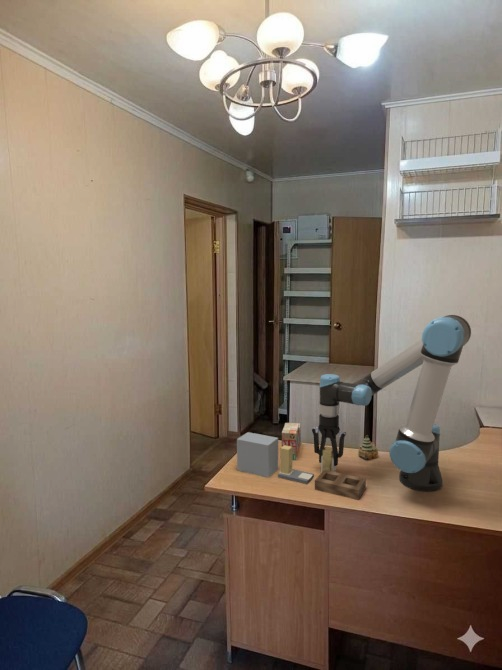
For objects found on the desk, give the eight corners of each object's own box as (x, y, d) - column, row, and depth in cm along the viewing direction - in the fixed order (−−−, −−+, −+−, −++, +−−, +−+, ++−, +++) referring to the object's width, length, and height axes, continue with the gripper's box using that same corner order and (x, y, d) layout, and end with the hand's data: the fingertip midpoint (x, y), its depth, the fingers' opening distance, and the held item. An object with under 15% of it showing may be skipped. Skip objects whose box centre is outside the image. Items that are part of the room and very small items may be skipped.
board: (314, 476, 168) (314, 449, 166) (307, 484, 162) (307, 455, 160) (284, 470, 174) (285, 443, 172) (277, 477, 168) (277, 449, 166)
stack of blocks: (287, 441, 205) (287, 416, 203) (300, 442, 204) (301, 416, 202) (281, 459, 184) (281, 432, 183) (296, 461, 183) (296, 432, 181)
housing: (278, 468, 175) (278, 437, 174) (268, 477, 168) (268, 445, 166) (248, 461, 182) (247, 432, 180) (237, 470, 174) (236, 439, 173)
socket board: (365, 487, 159) (365, 478, 158) (358, 499, 150) (358, 490, 150) (323, 478, 167) (324, 469, 166) (314, 489, 158) (314, 480, 157)
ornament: (369, 452, 191) (369, 430, 189) (380, 457, 186) (380, 435, 184) (356, 456, 187) (356, 434, 185) (367, 461, 181) (367, 438, 180)
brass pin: (333, 472, 172) (334, 448, 170) (331, 475, 169) (331, 451, 167) (325, 470, 173) (325, 446, 172) (322, 474, 170) (322, 449, 169)
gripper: (352, 414, 167) (351, 472, 170) (312, 408, 175) (311, 464, 178) (347, 420, 161) (346, 480, 164) (305, 414, 169) (305, 471, 172)
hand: (328, 471), depth 171 cm, fingers closed on brass pin, 3 cm apart
